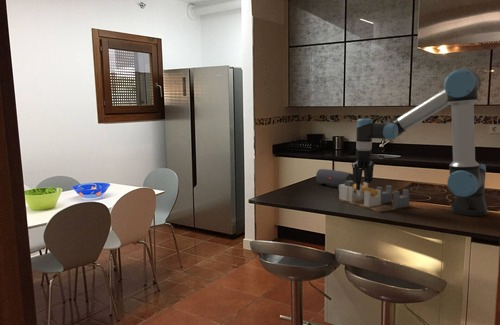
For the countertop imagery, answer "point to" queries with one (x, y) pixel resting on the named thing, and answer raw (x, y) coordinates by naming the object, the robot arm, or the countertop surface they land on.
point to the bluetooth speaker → (333, 177)
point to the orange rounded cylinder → (364, 188)
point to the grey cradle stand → (394, 197)
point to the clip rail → (375, 208)
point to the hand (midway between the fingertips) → (362, 195)
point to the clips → (351, 195)
